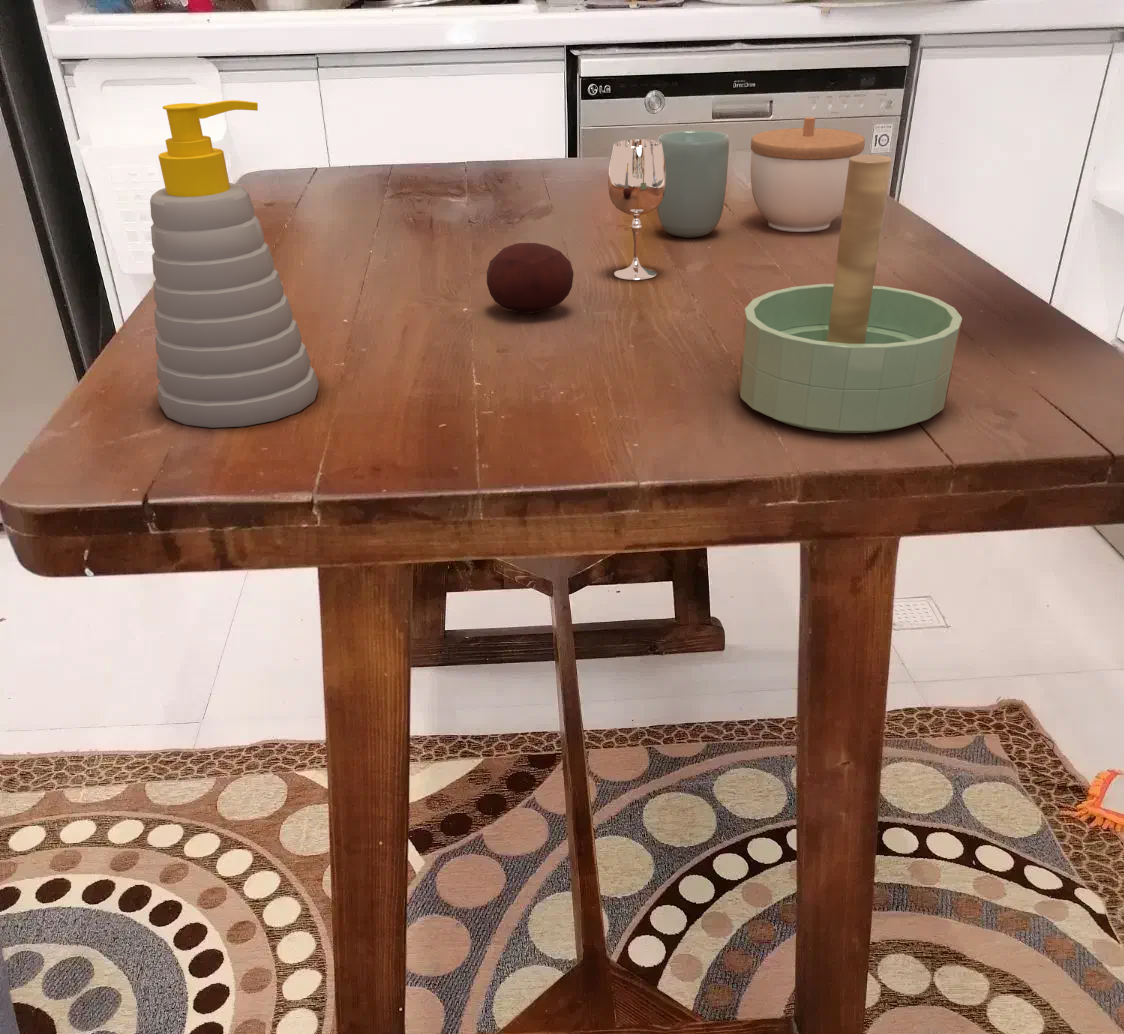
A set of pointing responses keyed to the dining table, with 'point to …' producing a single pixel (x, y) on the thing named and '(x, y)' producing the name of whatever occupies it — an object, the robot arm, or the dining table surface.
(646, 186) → the wineglass
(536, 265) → the potato
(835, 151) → the lidded bowl
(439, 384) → the dining table surface
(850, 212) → the muddler
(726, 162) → the cup
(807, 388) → the mixing bowl
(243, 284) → the soap bottle
